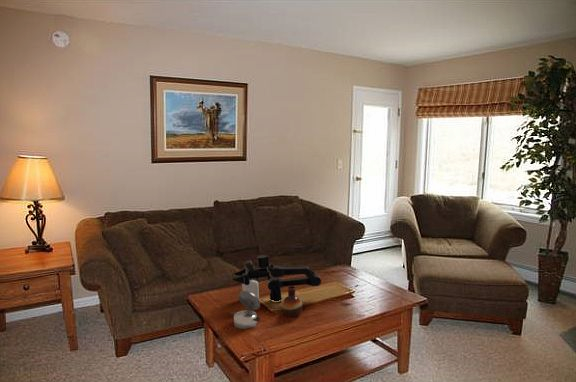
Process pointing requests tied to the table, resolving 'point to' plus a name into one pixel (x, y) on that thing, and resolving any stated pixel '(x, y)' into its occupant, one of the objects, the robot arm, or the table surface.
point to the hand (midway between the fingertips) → (233, 276)
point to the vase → (291, 303)
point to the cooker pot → (245, 319)
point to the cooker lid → (249, 300)
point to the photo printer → (252, 288)
